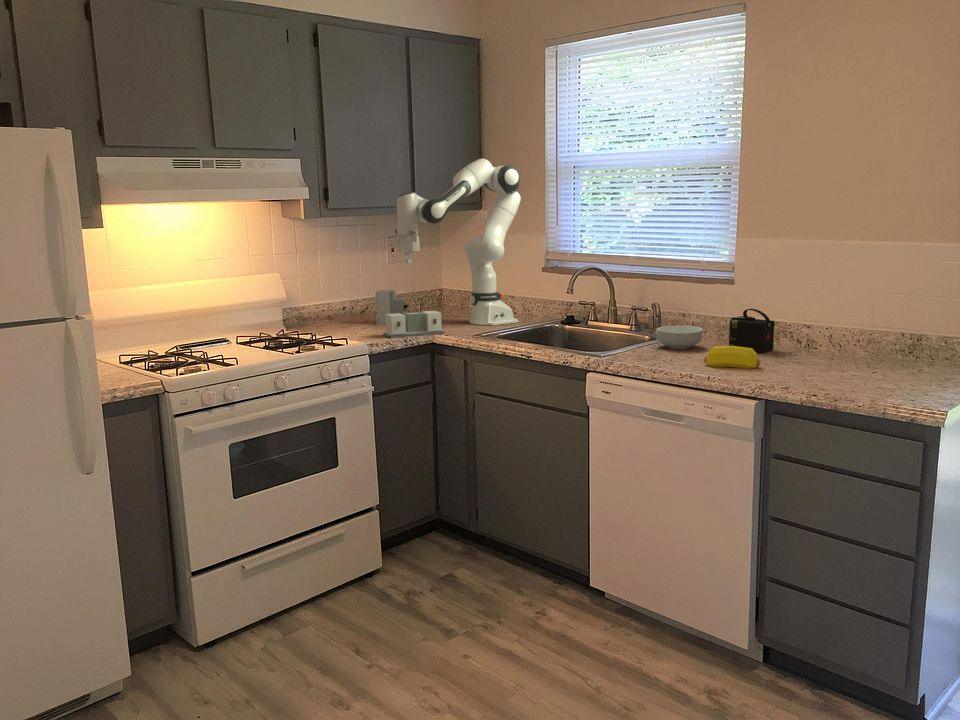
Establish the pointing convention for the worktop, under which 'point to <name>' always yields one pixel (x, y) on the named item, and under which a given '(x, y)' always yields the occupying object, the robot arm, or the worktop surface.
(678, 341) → the cereal bowl
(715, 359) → the yellow rounded bar
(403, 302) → the circuit breaker
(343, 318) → the worktop surface
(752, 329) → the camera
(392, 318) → the rail base
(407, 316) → the block
